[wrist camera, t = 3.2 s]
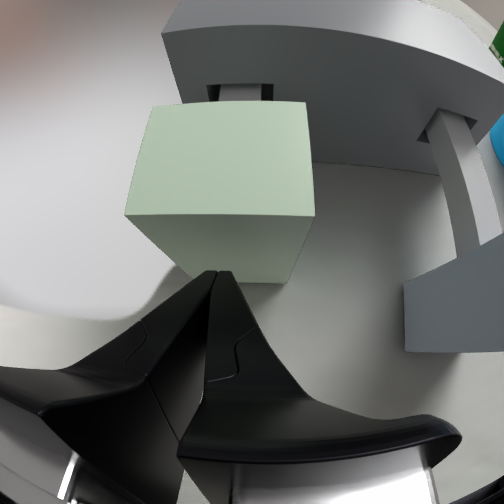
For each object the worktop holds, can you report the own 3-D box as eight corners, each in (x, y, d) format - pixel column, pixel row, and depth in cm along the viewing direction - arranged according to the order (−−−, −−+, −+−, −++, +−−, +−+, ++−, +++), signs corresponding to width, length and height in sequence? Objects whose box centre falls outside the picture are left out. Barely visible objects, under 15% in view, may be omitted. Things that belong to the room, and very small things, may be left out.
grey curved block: (447, 176, 18) (520, 92, 8) (200, 160, 18) (161, 33, 9) (420, 101, 20) (462, 18, 10) (213, 83, 21) (195, -22, 11)
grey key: (466, 342, 14) (573, 329, 5) (404, 351, 14) (518, 350, 6) (429, 133, 19) (479, 54, 10) (375, 123, 19) (415, 29, 10)
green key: (286, 283, 16) (314, 216, 7) (194, 280, 16) (124, 215, 7) (282, 96, 20) (288, -6, 11) (217, 96, 20) (199, -3, 11)
